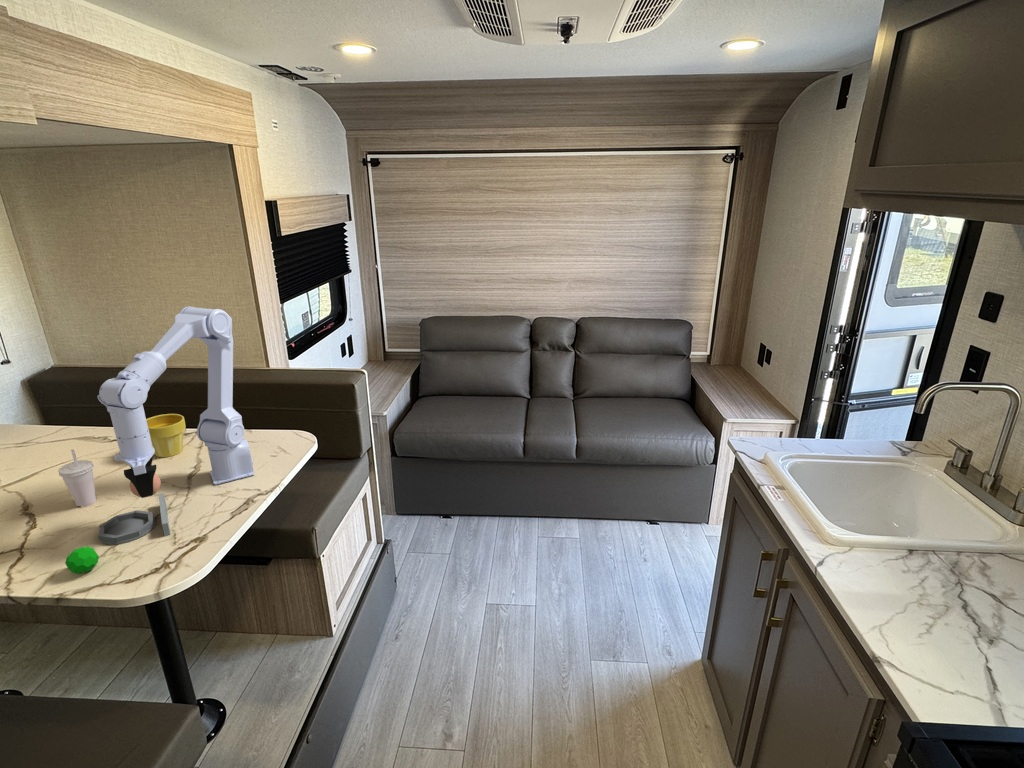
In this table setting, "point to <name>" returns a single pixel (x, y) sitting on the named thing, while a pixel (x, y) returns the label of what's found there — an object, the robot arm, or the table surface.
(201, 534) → the table surface
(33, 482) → the table surface
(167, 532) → the low wall
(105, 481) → the table surface
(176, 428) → the plant pot
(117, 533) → the gray octagonal bowl
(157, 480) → the ball
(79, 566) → the polyhedron
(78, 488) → the smoothie
